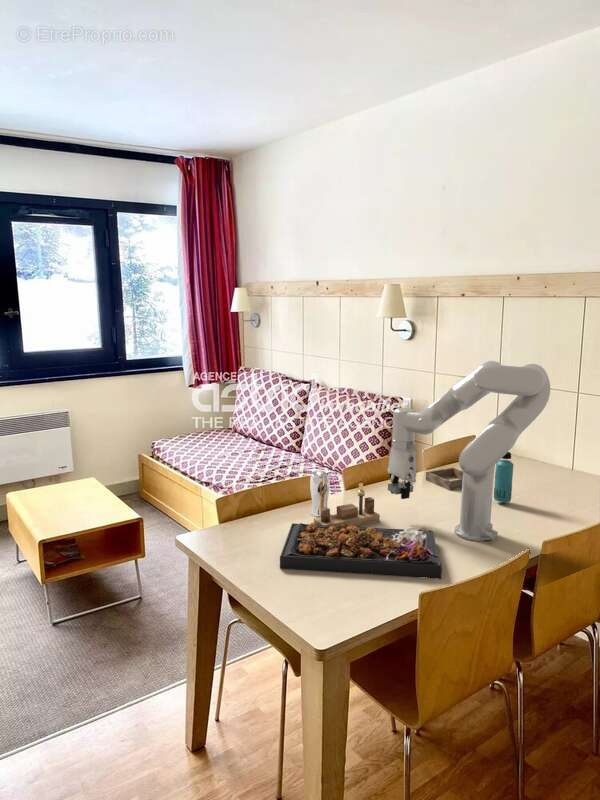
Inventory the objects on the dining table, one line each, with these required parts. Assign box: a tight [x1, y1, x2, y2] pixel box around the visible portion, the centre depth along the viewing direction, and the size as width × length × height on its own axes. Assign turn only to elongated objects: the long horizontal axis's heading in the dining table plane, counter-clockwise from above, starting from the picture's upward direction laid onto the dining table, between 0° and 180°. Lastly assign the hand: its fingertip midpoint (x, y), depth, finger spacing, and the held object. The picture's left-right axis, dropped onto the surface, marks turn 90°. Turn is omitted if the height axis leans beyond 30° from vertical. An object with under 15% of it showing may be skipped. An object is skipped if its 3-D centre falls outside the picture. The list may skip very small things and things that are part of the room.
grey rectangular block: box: [387, 481, 414, 495], centre depth 200 cm, size 5×7×3 cm
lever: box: [357, 482, 366, 497], centre depth 203 cm, size 2×10×2 cm, turn 175°
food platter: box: [279, 522, 443, 580], centre depth 174 cm, size 45×25×10 cm, turn 83°
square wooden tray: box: [425, 467, 463, 491], centre depth 244 cm, size 15×15×4 cm
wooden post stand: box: [313, 496, 381, 527], centre depth 198 cm, size 7×22×9 cm, turn 117°
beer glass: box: [309, 470, 331, 518], centre depth 206 cm, size 7×7×15 cm
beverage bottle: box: [493, 451, 515, 503], centre depth 218 cm, size 6×7×20 cm
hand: (400, 495), depth 200 cm, fingers closed on grey rectangular block, 5 cm apart
